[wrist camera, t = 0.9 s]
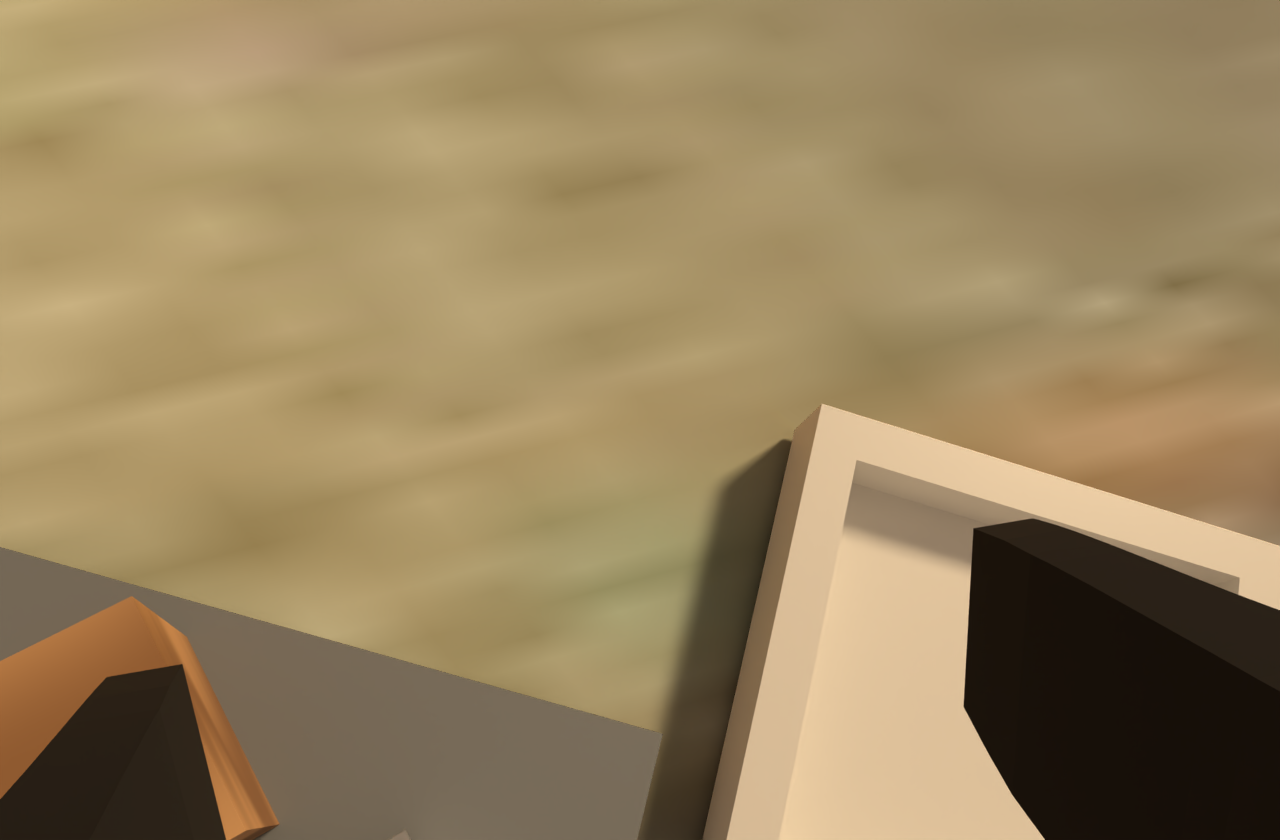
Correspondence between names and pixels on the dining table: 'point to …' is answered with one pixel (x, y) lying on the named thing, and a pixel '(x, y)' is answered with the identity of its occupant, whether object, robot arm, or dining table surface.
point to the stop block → (107, 646)
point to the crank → (400, 836)
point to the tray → (903, 633)
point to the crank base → (371, 727)
